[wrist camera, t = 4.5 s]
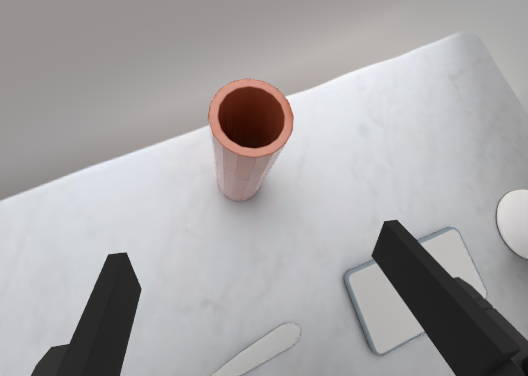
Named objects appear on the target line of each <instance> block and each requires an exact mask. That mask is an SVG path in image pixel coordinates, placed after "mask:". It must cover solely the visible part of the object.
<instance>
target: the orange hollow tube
mask: <svg viewBox="0 0 528 376" xmlns="http://www.w3.org/2000/svg"><path fill="white" fill-rule="evenodd" d="M293 118H294V117H293V113H292V110H291V107H290V104H289V102H288V100H287V99H286V98H285V97H284V96H283V94H282V93H281V92H280V91H279V90H278V89H277V88H275V87H273V86H271V85H270V84H268V83H266V82H264V81H259V80H254V79H243V80H237V81H233V82H231V83H229V84H228V85H226V86H224V87H223V88H221V89H220V90H219V91H218V92H217V94H216V95H215V97H214V98H213V100H212V101H211V104H210V108H209V115H208V121H209V127H210V134H211V141H212V148H213V154H214V161H215V168H216V174H217V181H218V185H219V188H220V190H221V192H222V193H223V194H224V195H225V196H226V197H227V198H229V199H231V200H235V201H243V200H247V199H249V198H251V197H252V196H253V195H254V194H255V193H256V192H257V190H258V189H259V187H260V185H261V184H262V182H263V180H264V179H265V177H266V175H267V174H268V172H269V170H270V169H271V167H272V165H273V164H274V162H275V161H276V159H277V157H278V156H279V154H280V152H281V151H282V149H283V147H284V146H285V144H286V142H287V140H288V139H289V137H290V135H291V133H292V130H293Z"/></svg>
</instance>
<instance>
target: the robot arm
mask: <svg viewBox="0 0 528 376" xmlns="http://www.w3.org/2000/svg"><path fill="white" fill-rule="evenodd" d="M372 257H373V259H374V260H375V262H376V263H377V264H378V266H379V267H380V269H381V270H382V272H383V273H384V274H385V276H386V277H387V279H388V280H389V281H390V283H391V284H392V286H393V287H394V289H395V290H396V291H397V293H398V294H399V296H400V297H401V298H402V300H403V301H404V303H405V304H406V306H407V307H408V308H409V310H410V311H411V313H412V314H413V315H414V317H415V318H416V320H417V321H418V322H419V324H420V325H421V327H422V328H423V330H424V331H425V332H426V334H427V335H428V337H429V338H430V339H431V341H432V342H433V344H434V345H435V347H436V348H437V349H438V351H439V352H440V354H441V355H442V356H443V358H444V359H445V361H446V362H447V364H448V365H449V366H450V368H451V369H452V371H453V372H454V373H455V375H456V376H528V341H527V340H526V339H525V338H524V337H523V336H522V335H521V334H520V333H519V332H518V331H517V330H516V329H515V328H514V327H513V326H512V325H511V324H510V323H509V322H508V321H507V320H506V319H505V318H504V317H503V316H502V315H501V314H500V313H499V312H498V311H497V310H496V309H495V308H493V307H492V305H491V304H490V303H489V302H488V301H487V300H486V299H484V298H483V296H482V295H481V294H480V293H479V292H478V291H477V290H476V289H475V288H474V287H473V286H472V285H470V284H469V283H467V282H466V281H464V280H463V279H461V278H460V277H455V278H453V277H452V276H451V275H450V274H449V273H448V272H447V271H446V270H445V269H444V268H443V267H442V266H441V265H440V264H439V263H438V262H437V261H436V260H435V259H434V258H433V257H432V256H431V254H430V253H429V252H428V251H427V250H426V249H425V248H424V247H423V246H422V245H421V244H420V243H419V242H418V241H417V240H416V239H415V238H414V237H413V236H412V235H411V234H410V233H409V232H408V231H407V230H406V229H405V228H404V227H403V226H402V225H401V223H400V222H399V221H398V220H391V221H384V224H383V226H382V229H381V232H380V234H379V237H378V240H377V243H376V245H375V248H374V251H373V253H372ZM140 293H141V287H140V284H139V282H138V279H137V277H136V275H135V272H134V270H133V267H132V265H131V262H130V260H129V258H128V255H127V253H126V252H125V253H117V254H109V255H108V256H107V259H106V261H105V263H104V265H103V268H102V270H101V272H100V275H99V277H98V279H97V282H96V284H95V286H94V289H93V291H92V293H91V295H90V298H89V300H88V302H87V305H86V307H85V309H84V312H83V314H82V316H81V319H80V321H79V323H78V325H77V328H76V330H75V332H74V335H73V337H72V339H71V342H70V344H67V345H61V346H55V347H51V348H50V349H49V351H48V352H47V353H46V354H45V355H44V357H43V358H42V359H41V360H40V361H39V362H38V364H37V365H36V367H35V369H34V371H33V373H32V375H31V376H120V373H121V369H122V365H123V361H124V357H125V353H126V349H127V345H128V341H129V337H130V333H131V329H132V325H133V321H134V317H135V313H136V309H137V305H138V301H139V297H140Z"/></svg>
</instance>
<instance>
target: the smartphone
mask: <svg viewBox="0 0 528 376" xmlns="http://www.w3.org/2000/svg"><path fill="white" fill-rule="evenodd" d="M418 242H419V243H420V244H421V245H422V246H423V247H424V248H425V249H426V250H427V251H428V252H429V253H430V254H431V256H432V257H433V258H434V259H435V260H436V261H437V262H438V263H439V264H440V265H441V266H442V267H443V268H444V269H445V270H446V271H447V272H448V273H449V274H450V275H451V276H452V277H453V278H455V277H460V278H461V279H463V280H464V281H466V282H467V283H469V284H470V285H472V286H473V287H474V288H475V289H476V290H477V291H478V292H479V293H480V294H481V295H482V296H483V298H484V299H486V298H487V295H488V293H487V289H486V287H485V285H484V283H483V281H482V279H481V277H480V275H479V273H478V270H477V268H476V266H475V264H474V262H473V260H472V258H471V256H470V253H469V251H468V249H467V247H466V245H465V243H464V241H463V239H462V237H461V234H460V232H459V231H458V230H457V229H456V228H454V227H447V228H445V229H443V230H441V231H438V232H436V233H434V234H431V235H429V236H427V237H424V238H422V239H420V240H418ZM344 281H345V284H346V286H347V289H348V292H349V294H350V297H351V299H352V302H353V305H354V307H355V310H356V312H357V315H358V317H359V320H360V323H361V325H362V328H363V330H364V333H365V336H366V338H367V341H368V343H369V346H370V348H371V350H372V351H373V352H374V353H375V354H376V355H379V356H382V355H385V354H387V353H388V352H390V351H392V350H394V349H396V348H398V347H399V346H401V345H403V344H405V343H407V342H409V341H410V340H412V339H414V338H416V337H418V336H420V335H421V334H423V333H425V331H424V330H423V328H422V327H421V325H420V324H419V322H418V321H417V320H416V318H415V317H414V315H413V314H412V313H411V311H410V310H409V308H408V307H407V306H406V304H405V303H404V301H403V300H402V298H401V297H400V296H399V294H398V293H397V291H396V290H395V289H394V287H393V286H392V284H391V283H390V281H389V280H388V279H387V277H386V276H385V274H384V273H383V272H382V270H381V269H380V267H379V266H378V264H377V263H376V262H375V260H371V261H369V262H367V263H365V264H362V265H360V266H358V267H356V268H353V269H351V270H349V271H347V272H346V273H345V276H344Z"/></svg>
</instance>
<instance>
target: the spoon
mask: <svg viewBox="0 0 528 376" xmlns="http://www.w3.org/2000/svg"><path fill="white" fill-rule="evenodd" d="M300 332H301V328H300V326H299V325H297V324H295V323H286V324H283V325H281V326H279V327H277V328H276V329H274V330H273V331H271V332H270V333H269V334H267V335H266V336H264V337H262V338H261V339H259V340H258V341H256V342H255V343H253V344H252V345H251V346H249V347H248V348H246V349H245V350H243V351H242V352H240V353H239V354H238V355H237V356H235V357H234V358H233V359H231V360H230V361H229V362H228V363H226V364H225V365H224V366H223V367H221V368H220V369H219V370H218V371H216V372H215V373H214V374H213V375H211V376H240V375H242V374H244V373H246V372H247V371H249V370H251V369H253V368H255V367H256V366H258V365H260V364H262V363H263V362H265V361H267V360H269V359H270V358H272V357H274V356H275V355H277V354H279V353H281V352H283V351H285V350H287V349H288V348H290V347H291V346H292V345H294V344H295V343H296V342H297V340H298V339H299V336H300Z"/></svg>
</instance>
